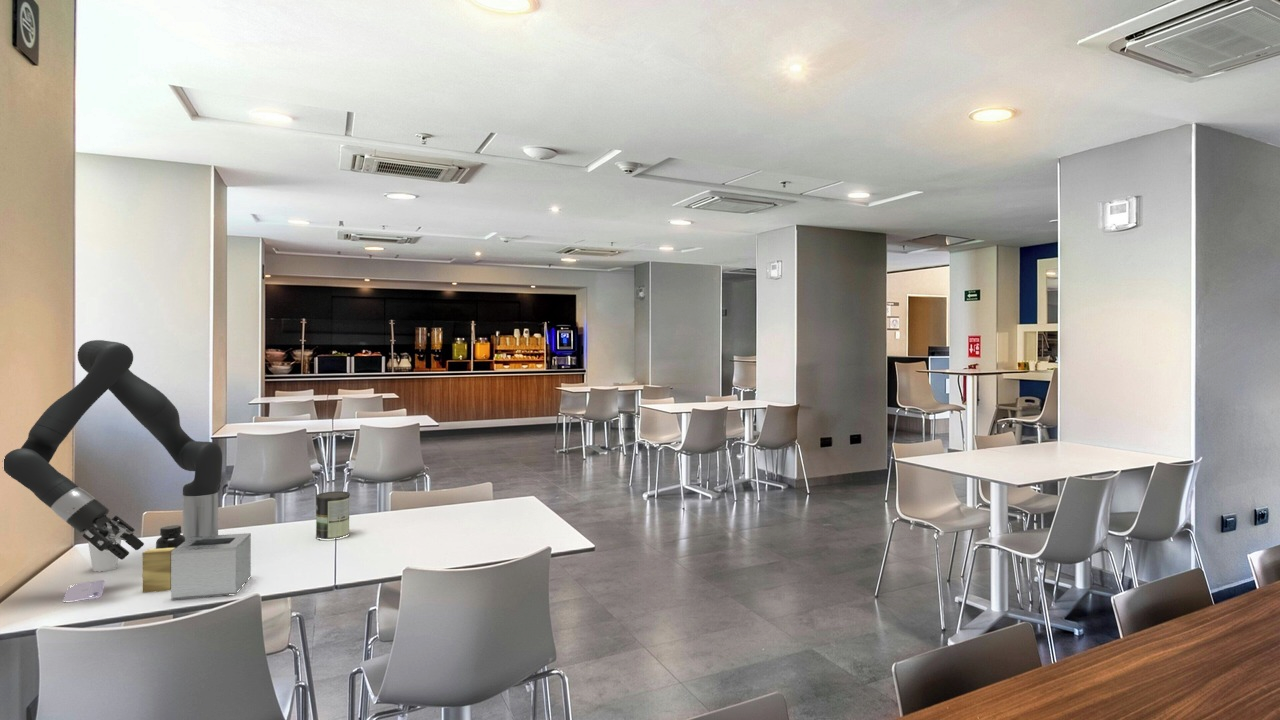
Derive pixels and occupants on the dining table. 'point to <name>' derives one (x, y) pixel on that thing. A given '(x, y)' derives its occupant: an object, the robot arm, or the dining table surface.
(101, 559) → the foam cup
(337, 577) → the dining table surface
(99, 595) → the mobile phone
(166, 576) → the plaque
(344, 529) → the coffee can
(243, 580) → the coin box
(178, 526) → the supplement bottle
